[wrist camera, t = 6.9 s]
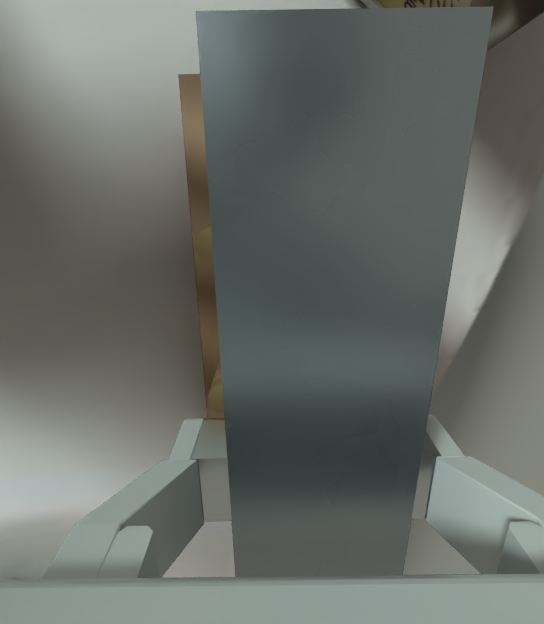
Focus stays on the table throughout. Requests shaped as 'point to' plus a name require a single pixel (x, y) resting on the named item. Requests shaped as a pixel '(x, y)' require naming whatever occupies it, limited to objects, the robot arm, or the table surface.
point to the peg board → (200, 224)
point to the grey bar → (333, 265)
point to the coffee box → (506, 13)
